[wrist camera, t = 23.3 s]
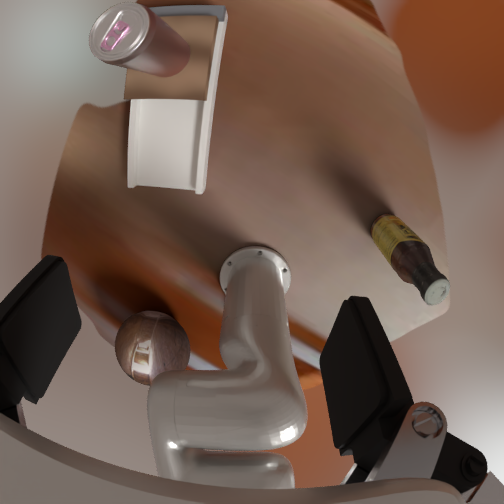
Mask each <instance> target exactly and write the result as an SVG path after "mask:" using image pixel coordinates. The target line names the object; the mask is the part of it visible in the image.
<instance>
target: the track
mask: <svg viewBox="0 0 504 504" xmlns="http://www.w3.org/2000/svg"><path fill="white" fill-rule="evenodd" d="M149 9H150V10H151V11H153V12H154V13H155V14H156V15H157V16H159V17H165V16H217V18H218V20H219V24H218V29H217V35H216V41H215V47H214V53H213V59H212V66H211V73H210V80H209V87H208V94H207V101H201V100H180V99H131V107H130V120H129V137H128V188H134V187H135V186H136V185H141V186H153V187H165V188H176V189H186V190H196V193H195V194H202V193H203V192H204V190H205V187H206V176H207V165H208V155H209V146H210V137H211V128H212V120H213V111H214V104H215V96H216V89H217V81H218V74H219V68H220V61H221V55H222V48H223V42H224V36H225V31H226V25H227V19H228V15H227V11H226V8H225V6H219V5H182V6H164V7H152V8H149Z"/></svg>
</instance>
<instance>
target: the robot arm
mask: <svg viewBox="0 0 504 504" xmlns="http://www.w3.org/2000/svg"><path fill="white" fill-rule="evenodd" d="M259 251H261V252H259ZM229 261H230V262H229ZM284 268H285V269H284ZM290 283H291V273H290V268H289V266H288V264H287V262H286V260H285V259H284V258H283V257H282V256H281V255H280V254H279V253H277V252H275V251H274V250H272V249H269V248H266V247H261V246H250V247H244V248H242V249H239V250H237V251H235V252H233V253H232V254H231V255H230V256H228V257H227V259H226V260H225V261H224V263H223V265H222V267H221V271H220V284H221V287H222V290H223V291H224V293H225V294H226V297H225V304H224V311H223V318H222V326H221V333H220V341H219V348H220V353H221V356H222V359H223V361H224V363H225V364H226V366H227V367H228V369H229V370H169V371H164V372H162V373H160V374H158V375H157V376H156V377H155V378H154V379H153V380H152V382H151V384H150V387H149V390H148V396H147V414H148V422H149V429H150V436H151V442H152V447H153V453H154V458H155V463H156V468H157V472H158V477H157V476H153V475H149V474H145V473H140V472H137V471H133V470H129V469H126V468H122V467H119V466H116V465H113V464H109V463H106V462H104V461H101V460H97V459H95V458H92V457H89V456H87V455H84V454H81V453H79V452H77V451H74V450H72V449H69V448H67V447H64V446H62V445H60V444H57V443H55V442H53V441H51V440H49V439H47V438H45V437H43V436H41V435H39V434H37V433H35V432H33V431H31V430H29V429H27V427H26V422H25V418H24V413H23V409H22V404H21V399H22V397H23V396H24V398H25V399H26V400H28V401H30V402H32V403H34V404H37V402H38V400H39V398H42V397H43V396H44V394H45V392H46V390H47V388H48V386H49V384H50V382H51V380H52V378H53V376H54V374H55V373H56V371H57V369H58V367H59V365H60V364H61V361H62V360H63V358H64V356H65V355H66V353H67V351H68V349H69V348H70V346H71V344H72V342H73V341H74V339H75V337H76V336H77V334H78V332H79V331H80V329H81V318H80V315H79V311H78V307H77V304H76V300H75V296H74V293H73V289H72V285H71V281H70V276H69V272H68V267H67V264H66V263H65V262H64V260H63V259H62V258H61V257H58V256H52V255H47V256H45V257H44V258H43V259H42V260H41V261H40V262H39V263H38V264H37V265H36V266H35V267H34V268H33V269H32V270H31V271H30V272H29V273H28V274H27V275H26V276H25V277H24V278H23V279H22V280H21V281H20V282H19V283H18V284H17V285H16V287H15V288H14V289H13V290H12V291H11V292H10V293H9V294H8V295H7V296H6V297H5V299H4V300H3V301H2V302H1V303H0V504H504V485H503V484H502V483H501V482H500V481H499V480H498V479H497V478H496V477H495V475H493V473H492V472H489V473H487V461H486V459H485V456H484V455H483V453H482V452H480V451H479V450H478V449H476V448H474V447H473V446H471V445H469V444H467V443H465V442H463V441H462V440H460V439H459V438H457V437H455V436H453V435H452V434H450V433H448V432H447V421H446V418H445V415H444V414H443V412H442V411H441V410H440V409H439V408H438V407H437V406H435V405H434V404H432V403H429V402H418V403H415V404H414V402H413V399H412V395H411V392H410V390H409V387H408V385H407V382H406V380H405V377H404V375H403V373H402V370H401V368H400V366H399V363H398V361H397V358H396V356H395V354H394V351H393V349H392V347H391V345H390V342H389V340H388V338H387V336H386V334H385V331H384V329H383V327H382V325H381V323H380V321H379V318H378V316H377V314H376V312H375V310H374V308H373V306H372V304H371V302H370V300H369V298H367V297H359V296H350V297H349V299H348V300H344V301H343V303H342V306H341V308H340V311H339V313H338V316H337V318H336V321H335V323H334V325H333V328H332V330H331V332H330V335H329V337H328V339H327V342H326V344H325V346H324V349H323V351H322V353H321V356H320V369H321V374H322V379H323V385H324V390H325V395H326V401H327V406H328V412H329V418H330V424H331V430H332V436H333V442H334V446H335V447H336V448H337V449H339V451H340V455H341V456H345V455H353V457H354V463H355V464H354V465H353V467H352V468H351V470H350V471H349V473H348V474H347V475H346V477H345V478H344V480H343V481H342V483H341V484H340V485H337V486H327V487H315V488H298V489H297V488H295V481H294V473H293V468H292V466H291V463H290V462H289V460H288V459H287V458H286V457H284V456H283V455H280V454H278V453H272V452H225V450H226V451H256V450H268V449H275V448H279V447H283V446H286V445H289V444H291V443H293V442H294V441H295V440H297V439H298V438H299V437H300V436H301V435H302V433H303V431H304V430H305V427H306V424H307V406H306V401H305V397H304V394H303V391H302V388H301V385H300V382H299V379H298V376H297V372H296V369H295V365H294V360H293V354H292V348H291V340H290V333H289V325H288V317H287V309H286V302H285V294H286V292H287V291H288V289H289V286H290ZM204 449H211V450H224V451H207V450H204Z"/></svg>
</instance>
